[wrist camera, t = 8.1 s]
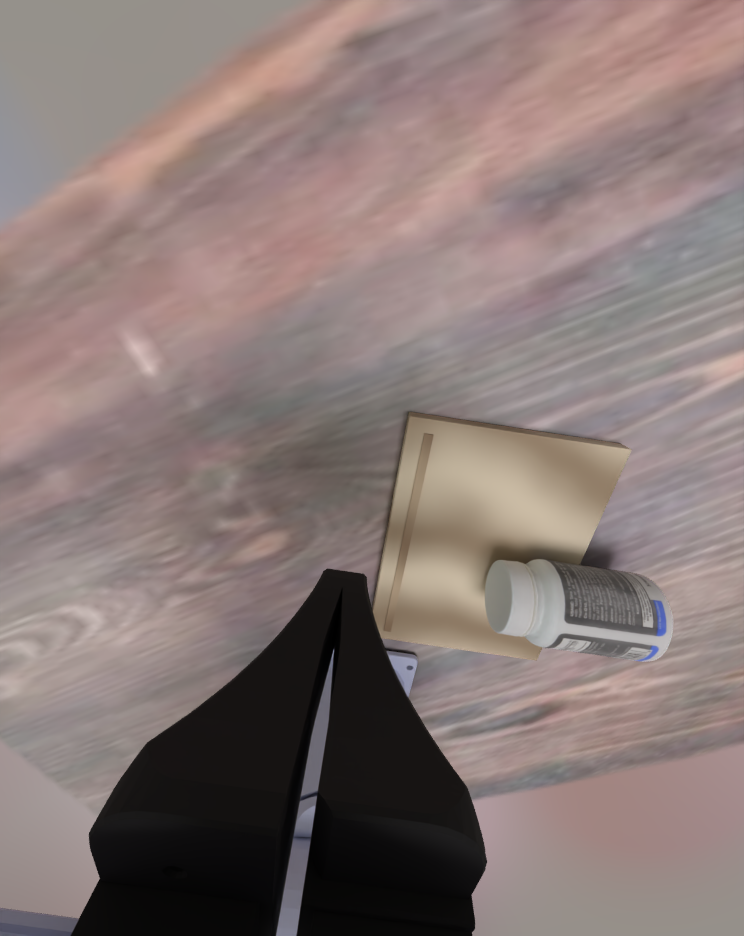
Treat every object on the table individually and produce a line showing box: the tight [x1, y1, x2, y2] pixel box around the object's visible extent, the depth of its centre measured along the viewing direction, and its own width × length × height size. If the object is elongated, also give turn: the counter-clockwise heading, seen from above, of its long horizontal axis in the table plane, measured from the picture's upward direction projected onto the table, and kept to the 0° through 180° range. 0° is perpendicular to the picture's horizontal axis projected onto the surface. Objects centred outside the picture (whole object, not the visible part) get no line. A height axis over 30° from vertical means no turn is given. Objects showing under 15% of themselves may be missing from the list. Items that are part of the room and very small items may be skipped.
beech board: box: [372, 412, 631, 661], centre depth 23 cm, size 16×12×1 cm
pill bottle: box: [485, 559, 673, 662], centre depth 20 cm, size 5×5×8 cm
